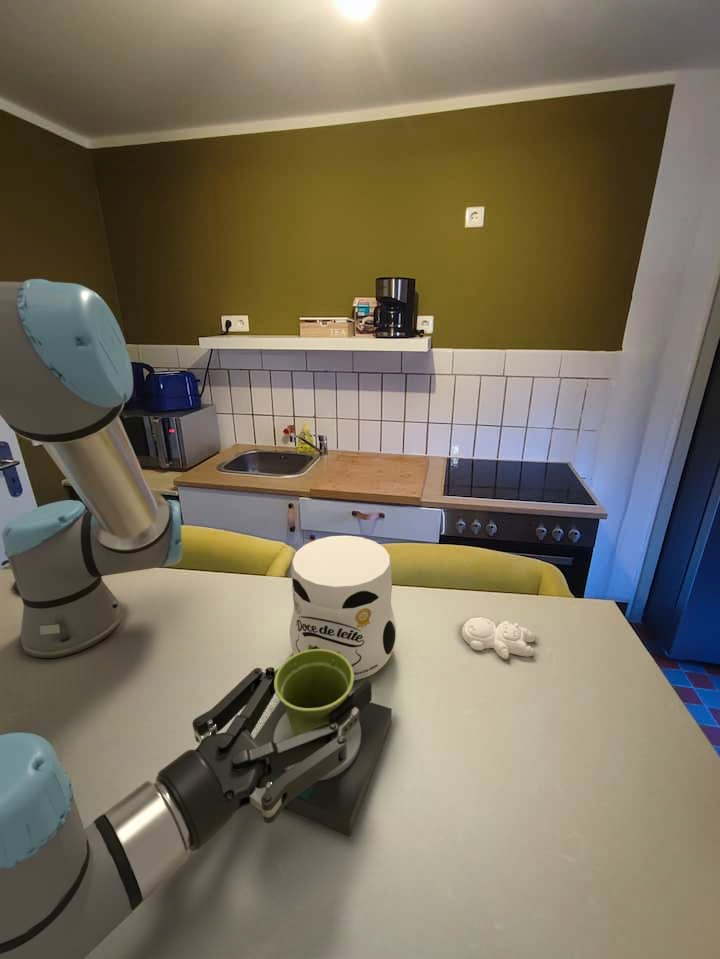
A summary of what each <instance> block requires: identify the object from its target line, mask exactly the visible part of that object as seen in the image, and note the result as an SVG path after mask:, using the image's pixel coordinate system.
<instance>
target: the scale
mask: <svg viewBox="0 0 720 959" xmlns="http://www.w3.org/2000/svg"><path fill="white" fill-rule="evenodd" d="M350 695H351V694H350ZM350 695H349V694H348V697H349V696H350ZM348 697H347V698H348ZM392 711H393V710H392V708H390V707H388V706H384V705H380V704H377V703H374V702H371V701H370V702H369V703H368V704H367V705H366V706H365V707H364V708H363V709H362V710H361V711H360V712H359V720H358V723H357V724H356V725H355V726H354V727H353V728H351V730H350V731H349V732H348V733H347V734H346V735H345V736H344V737H345V738H346V743H347V759H346V761H345V762H343V763H342V764H340V765H339V766H338V767H336V768H335V769H334V770H332V771H331V772H330V773H328V774H327V775H325V776H324V777H323V778H321V779H320V780H319V781H317V782H316V783H314V784H313V785H312V786H310V787H309V788H308V789H306V790H305V791H304V792H302V793H301V794H299V795H298V796H297V797H295V798H294V799H293V800H291V801H290V802H288V803H287V804H286V805H285V807H284V808H285V809H287V810H289V811H291V812H293V813H296V814H298V815H300V816H303V817H304V818H305V817H306V818H307V819H309V820H312V821H314V822H317V823H319V824H321V825H323V826H325V827H328V828H330V829H333V830H335V831H337V832H339V833H342V834H344V835H346V836H349V837H351V835H352V832H353V829H354V826H355V824H356V821H357V818H358V815H359V813H360V810H361V807H362V805H363V802H364V800H365V796H366V794H367V790H368V787H369V786H370V782H371V779H372V777H373V775H374V771H375V768H376V766H377V763H378V760H379V757H380V755H381V752H382V749H383V746H384V745H385V744H384V743H385V741H386V739H387V735H388V732H389V731H390V727H391V725H392V719H393V718H392V714H393V712H392ZM291 737H294V736H293V732H292V729H291V725H290V722H289V718H288V715H287V712H286V709H285V706H284V705H283V703H282V702H281V701H280V700H279V701H278V703H277V704H276V706H275V708H274V709H273V710H272V712H271V713H270V715H269V717H268V718H267V719H266V721H265V722H264V723H263V725H262V726H261V728H260V730H259V731H258V732H257V734H256V735H255V737H253V739H254V740H256V741H258V742H260V743H261V744H262V745H264V744H266V743H269V742H274V743H278V742H281V741H284V740H286V739H289V738H291ZM268 763H269V758H266V764H268ZM299 763H300V762H299ZM297 764H298V763H296V764H294V765H292V766H289V767H287V768H284V769H282V770H280V771H279V773H278V774H277V775H276V776H273V777H271V778H269V779H266V780H264V781H261V784H260V787H259V788H264V787H265V786H266V784H267V783H268V782H272V784H273V782H274V781H275V780H276V779H277V778H278V777H279V776H281V775H282V774H283V773H285V772H286V771H288V770H289V769H291V768H292V767H294V766H295V765H297Z"/></svg>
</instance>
